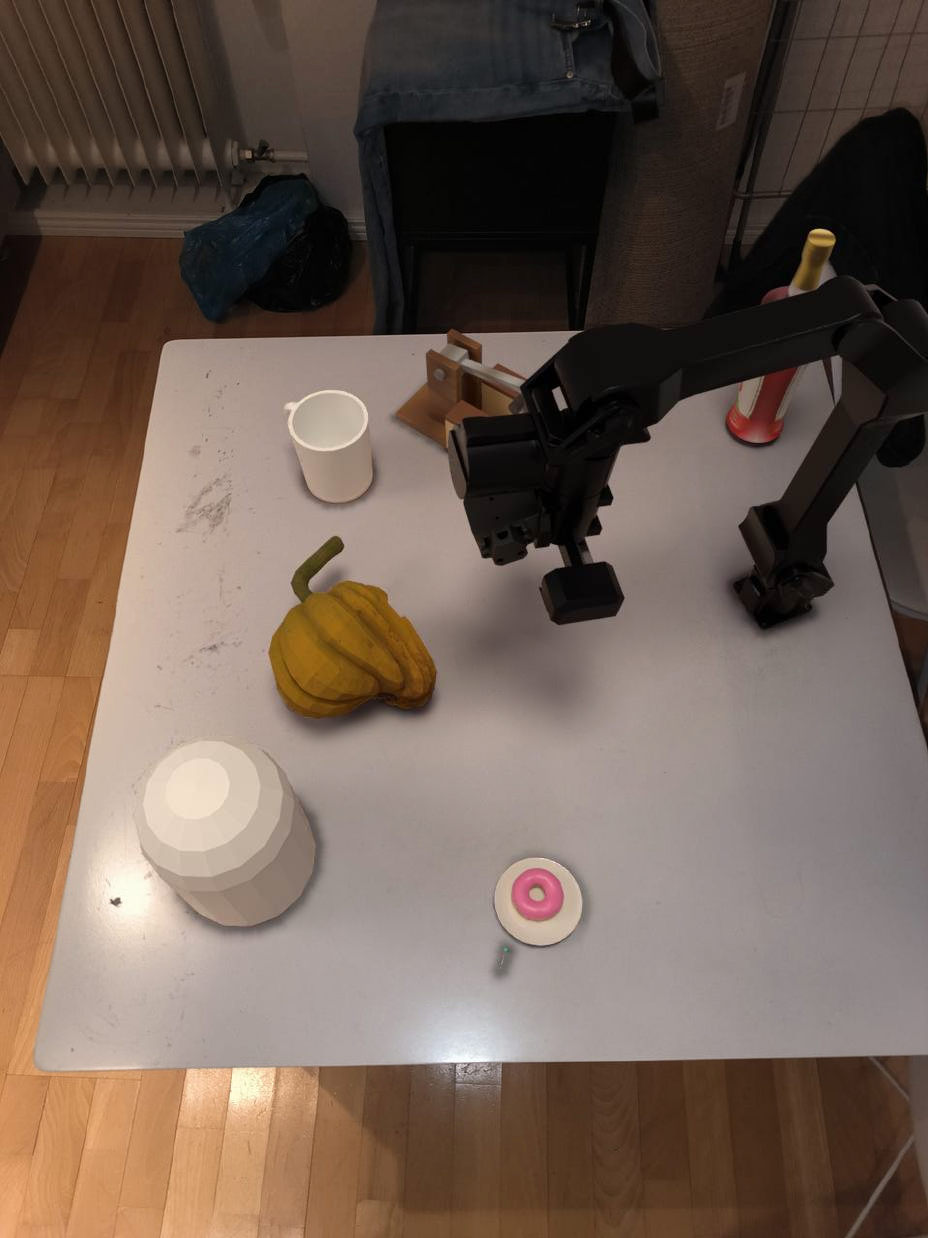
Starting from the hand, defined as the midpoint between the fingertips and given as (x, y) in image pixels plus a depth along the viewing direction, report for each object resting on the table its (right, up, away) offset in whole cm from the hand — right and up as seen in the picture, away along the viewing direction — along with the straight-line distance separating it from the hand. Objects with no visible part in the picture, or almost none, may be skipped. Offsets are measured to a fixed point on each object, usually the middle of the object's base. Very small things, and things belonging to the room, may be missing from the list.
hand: (541, 577), depth 92 cm
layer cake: (-4, +19, +27) cm, 33 cm away
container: (-28, -27, +2) cm, 39 cm away
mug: (-23, +14, +25) cm, 37 cm away
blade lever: (-4, +23, +19) cm, 30 cm away
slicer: (-8, +21, +29) cm, 37 cm away
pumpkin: (-19, -10, +12) cm, 25 cm away
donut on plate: (-1, -32, -1) cm, 32 cm away
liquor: (+28, +20, +28) cm, 44 cm away
